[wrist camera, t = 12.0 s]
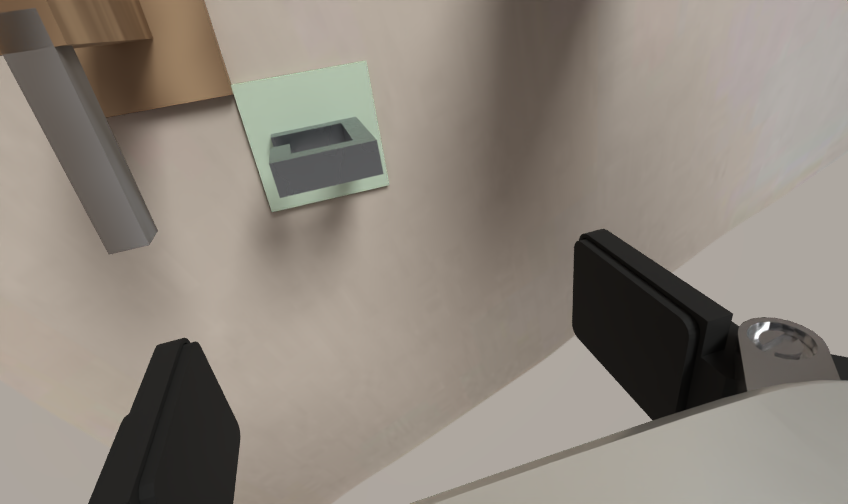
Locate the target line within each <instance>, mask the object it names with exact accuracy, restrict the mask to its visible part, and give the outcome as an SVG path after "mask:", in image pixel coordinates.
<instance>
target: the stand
mask: <svg viewBox="0 0 848 504" xmlns="http://www.w3.org/2000/svg"><path fill="white" fill-rule="evenodd" d="M2 55H3V56H4V58H5V60H6V62H7V64H8V66H9V68H10V70H11V71H12V73H13V75H14V77H15V79H16V81H17V83H18V85H19V87H20V88H21V90H22V92H23V94H24V96H25V98H26V100H27V102H28V103H29V105H30V107H31V109H32V111H33V113H34V115H35V117H36V118H37V120H38V122H39V124H40V126H41V128H42V130H43V132H44V134H45V135H46V137H47V139H48V141H49V143H50V145H51V147H52V149H53V150H54V152H55V154H56V156H57V158H58V160H59V162H60V164H61V165H62V167H63V169H64V171H65V173H66V175H67V177H68V179H69V181H70V182H71V184H72V186H73V188H74V190H75V192H76V194H77V196H78V197H79V199H80V201H81V203H82V205H83V207H84V209H85V211H86V213H87V214H88V216H89V218H90V220H91V222H92V224H93V226H94V228H95V229H96V231H97V233H98V235H99V237H100V239H101V241H102V243H103V244H104V246H105V248H106V250H107V252H108V254H113V253H117V252H122V251H126V250H130V249H134V248H139V247H143V246H147V245H150V243H151V241H152V240H153V238H154V236H155V235H156V233H157V231H158V230H157V228H156V226H155V224H154V221H153V219H152V217H151V215H150V213H149V211H148V208H147V206H146V204H145V202H144V200H143V198H142V195H141V193H140V191H139V189H138V187H137V185H136V182H135V180H134V178H133V176H132V174H131V172H130V169H129V167H128V165H127V163H126V161H125V159H124V156H123V154H122V152H121V150H120V148H119V146H118V143H117V141H116V139H115V137H114V135H113V133H112V130H111V128H110V126H109V124H108V122H107V120H106V118H107V117H112V116H117V115H123V114H128V113H134V112H139V111H145V110H150V109H156V108H161V107H167V106H172V105H178V104H183V103H189V102H194V101H200V100H205V99H210V98H216V97H221V96H227V95H232V94H233V91H232V87H231V82H230V79H229V76H228V73H227V70H226V67H225V63H224V60H223V57H222V54H221V51H220V48H219V45H218V42H217V39H216V36H215V33H214V29H213V26H212V23H211V20H210V17H209V14H208V11H207V8H206V5H205V2H204V0H0V56H2Z"/></svg>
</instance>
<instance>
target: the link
mask: <svg viewBox="0 0 848 504" xmlns="http://www.w3.org/2000/svg"><path fill="white" fill-rule="evenodd" d="M271 141H272V144H273V147H272V148H270V156H269V165H270V169H271V172H272V175H273V178H274V181H275V184H276V187H277V191H278V194H279V197H280V198H283V197H287V196H291V195H296V194H300V193H304V192H309V191H313V190H317V189H321V188H326V187H330V186H334V185H339V184H343V183H347V182H351V181H356V180H360V179H364V178H369V177H373V176H377V175H381V174H384V173H383V168H382V163H381V158H380V153H379V148H378V143H377V140H376V138H375V137H374V136H373V135H372V134H371V133H370V132H369V131H368V130H367V128H366V127H365V126H364V125H363V124H362V123H361V122H360V121H359V119H358V118H357V117H352V118H347V119H342V120H337V121H332V122H327V123H323V124H318V125H313V126H308V127H303V128H299V129H294V130H289V131H284V132H279V133H274V134H271Z"/></svg>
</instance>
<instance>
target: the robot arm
mask: <svg viewBox="0 0 848 504" xmlns="http://www.w3.org/2000/svg"><path fill="white" fill-rule="evenodd" d="M732 316H733V314H732V313H731V312H730V311H728V310H726V309H725V308H723V307H722V306H720V305H719V304H717V303H716V302H714V301H713V300H711V299H710V298H708V297H707V296H705V295H704V294H702V293H701V292H699V291H698V290H696V289H695V288H693V287H692V286H690V285H689V284H687V283H686V282H684V281H683V280H681V279H680V278H678V277H677V276H675V275H674V274H672V273H671V272H669V271H668V270H666V269H665V268H663V267H662V266H660V265H659V264H657V263H656V262H654V261H653V260H651V259H650V258H648V257H647V256H645V255H644V254H642V253H641V252H639V251H638V250H636V249H635V248H633V247H632V246H630V245H629V244H627V243H626V242H624V241H623V240H621V239H620V238H618V237H617V236H615V235H614V234H612V233H611V232H609V231H608V230H605V229H600V230H596V231H592V232H589V233H585V234H582V235H581V236H580V238H579V241H577V242H576V243H575V246H574V275H573V313H572V326H573V330H574V333H575V335H576V336H577V337H578V339H579V340H580V341H581V342H582V343H583V344H584V345H585V346H586V347H587V349H588V350H589V351H590V352H591V353H592V354H593V355H594V356H595V357H596V358H597V360H598V361H599V362H600V363H601V364H602V365H603V366H604V367H605V369H606V370H607V371H608V372H609V373H610V374H611V375H612V376H613V377H614V378H615V380H616V381H617V382H618V383H619V384H620V385H621V386H622V387H623V388H624V389H625V391H626V392H627V393H628V394H629V395H630V396H631V397H632V398H633V399H634V400H635V402H636V403H637V404H638V405H639V406H640V407H641V408H642V409H643V410H644V411H645V412H646V414H647V415H648V416H649V417H650V418H651V419H652V420H653V421H650V422H648V423H645V424H641V425H638V426H635V427H632V428H630V429H627V430H624V431H621V432H618V433H615V434H612V435H609V436H606V437H603V438H600V439H597V440H594V441H591V442H588V443H585V444H582V445H579V446H576V447H573V448H570V449H567V450H564V451H561V452H559V453H555V454H553V455H550V456H547V457H544V458H541V459H538V460H535V461H532V462H529V463H526V464H523V465H521V466H518V467H515V468H512V469H509V470H506V471H503V472H500V473H497V474H494V475H491V476H488V477H485V478H483V479H480V480H477V481H474V482H471V483H468V484H465V485H462V486H460V487H457V488H454V489H451V490H448V491H445V492H442V493H439V494H436V495H433V496H431V497H428V498H425V499H422V500H419V501H416V502H413V503H410V504H848V357H842V356H837V355H832V354H830V352H829V349H828V347H827V345H826V343H825V342H824V341H823V339H822V338H821V337H819V336H818V335H817V334H816V333H815V332H813V331H811V330H810V329H808V328H806V327H804V326H802V325H799V324H797V323H794V322H791V321H788V320H783V319H778V318H766V317H762V318H753V319H750V320H747V321H745V322H743V323H742V324H741V325H740V326H738V325H736V324H735V323H733V322H732V321H731V320H732ZM239 446H240V429H239V425H238V423H237V420H236V418H235V416H234V414H233V412H232V410H231V408H230V406H229V404H228V402H227V400H226V398H225V396H224V394H223V391H222V389H221V387H220V385H219V383H218V381H217V379H216V377H215V375H214V373H213V371H212V369H211V367H210V365H209V363H208V361H207V358H206V356H205V354H204V352H203V350H202V348H201V346H200V345H199V343H198V342H192V343H190V341H189V340H188V339H187V338H182V339H178V340H174V341H170V342H166V343H163V344H159V345H157V346H156V348H155V350H154V353H153V355H152V358H151V360H150V363H149V365H148V368H147V370H146V373H145V375H144V378H143V380H142V383H141V385H140V388H139V390H138V393H137V395H136V398H135V400H134V403H133V405H132V408H131V410H130V413H129V414H128V415H127V416H126V417H124V419H123V421H122V423H121V425H120V427H119V430H118V432H117V434H116V437H115V439H114V442H113V444H112V447H111V449H110V452H109V454H108V456H107V459H106V461H105V464H104V466H103V469H102V471H101V474H100V476H99V479H98V481H97V483H96V486H95V489H94V491H93V493H92V496H91V498H90V501H89V503H88V504H233V500H234V491H235V482H236V473H237V464H238V455H239Z"/></svg>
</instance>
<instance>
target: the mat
mask: <svg viewBox="0 0 848 504" xmlns="http://www.w3.org/2000/svg"><path fill="white" fill-rule="evenodd" d="M231 87H232V91H233V94H234V97H235V100H236V103H237V106H238V109H239V112H240V115H241V118H242V121H243V125H244V128H245V131H246V134H247V137H248V140H249V143H250V146H251V149H252V152H253V155H254V159H255V162H256V165H257V168H258V171H259V174H260V177H261V180H262V183H263V186H264V189H265V192H266V196H267V199H268V202H269V205H270V208H271V211H272V212H275V211H280V210H284V209H288V208H293V207H297V206H301V205H305V204H310V203H314V202H318V201H323V200H327V199H331V198H336V197H340V196H344V195H349V194H353V193H357V192H362V191H366V190H370V189H375V188H379V187H383V186H387V185H389V180H388V175H387V170H386V164H385V159H384V153H383V148H382V143H381V137H380V132H379V127H378V121H377V116H376V111H375V105H374V100H373V94H372V89H371V84H370V78H369V73H368V68H367V62H366V61H361V62H355V63H350V64H344V65H338V66H333V67H327V68H322V69H316V70H311V71H305V72H299V73H294V74H288V75H283V76H277V77H271V78H266V79H260V80H255V81H249V82H243V83H238V84H232V85H231ZM352 117H357V118H358V119H359V121H360V122H361V123H362V124H363V125H364V126H365V127H366V128H367V130H368V131H369V132H370V133H371V134H372V135H373V136H374V137H375V138H376V140H377V143H378V148H379V153H380V158H381V163H382V168H383V173H384V174H381V175H377V176H373V177H369V178H364V179H360V180H356V181H351V182H347V183H343V184H339V185H334V186H330V187H326V188H321V189H317V190H313V191H309V192H304V193H300V194H296V195H291V196H287V197H283V198H280V197H279V194H278V191H277V187H276V184H275V181H274V178H273V175H272V172H271V169H270V165H269V156H270V148H272V147H273V144H272V141H271V134H274V133H279V132H284V131H289V130H294V129H299V128H303V127H308V126H313V125H318V124H323V123H327V122H332V121H337V120H342V119H347V118H352Z"/></svg>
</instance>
